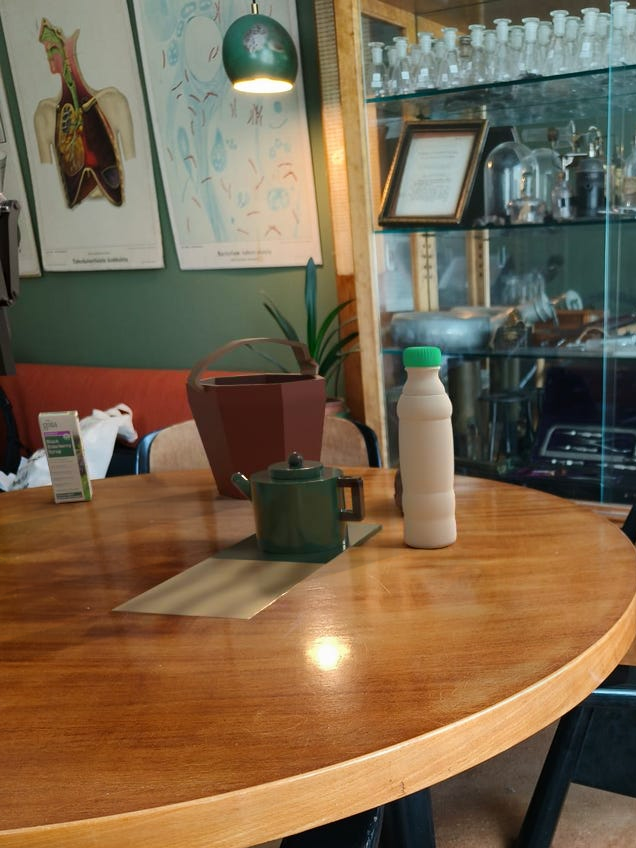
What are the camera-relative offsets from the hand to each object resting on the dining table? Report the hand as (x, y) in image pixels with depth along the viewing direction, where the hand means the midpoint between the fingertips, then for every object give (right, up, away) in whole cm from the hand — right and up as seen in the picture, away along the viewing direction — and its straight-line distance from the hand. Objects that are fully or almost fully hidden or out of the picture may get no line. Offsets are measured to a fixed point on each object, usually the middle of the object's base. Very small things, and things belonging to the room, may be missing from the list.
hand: (0, 375), depth 91 cm
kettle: (+26, -14, +27) cm, 40 cm away
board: (+23, -18, +19) cm, 35 cm away
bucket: (+13, -1, +64) cm, 65 cm away
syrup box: (-20, -3, +60) cm, 63 cm away
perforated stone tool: (+39, -7, +48) cm, 62 cm away
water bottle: (+43, -14, +28) cm, 53 cm away
